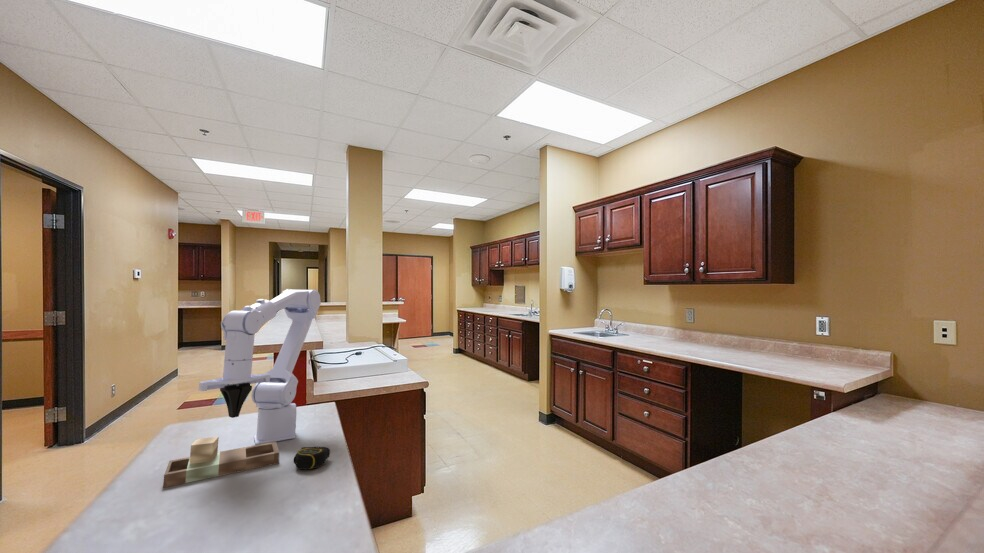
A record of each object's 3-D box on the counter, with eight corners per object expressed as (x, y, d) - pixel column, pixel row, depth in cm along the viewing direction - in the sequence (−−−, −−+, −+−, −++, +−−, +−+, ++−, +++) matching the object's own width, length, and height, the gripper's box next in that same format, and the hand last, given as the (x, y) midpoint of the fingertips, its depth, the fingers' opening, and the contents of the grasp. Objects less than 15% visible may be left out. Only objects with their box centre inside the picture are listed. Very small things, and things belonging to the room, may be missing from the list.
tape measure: (330, 460, 89) (331, 444, 89) (319, 473, 82) (320, 455, 82) (301, 460, 88) (302, 444, 88) (288, 473, 81) (289, 456, 82)
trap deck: (275, 451, 92) (275, 441, 92) (278, 463, 86) (279, 452, 86) (168, 472, 80) (169, 460, 80) (163, 487, 74) (164, 475, 74)
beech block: (217, 454, 84) (218, 436, 85) (211, 461, 81) (213, 442, 81) (196, 456, 83) (197, 438, 83) (189, 464, 79) (190, 445, 79)
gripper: (262, 355, 97) (258, 407, 95) (196, 361, 85) (190, 420, 83) (275, 357, 93) (271, 412, 92) (208, 364, 81) (202, 426, 80)
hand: (233, 416), depth 87 cm, fingers closed
